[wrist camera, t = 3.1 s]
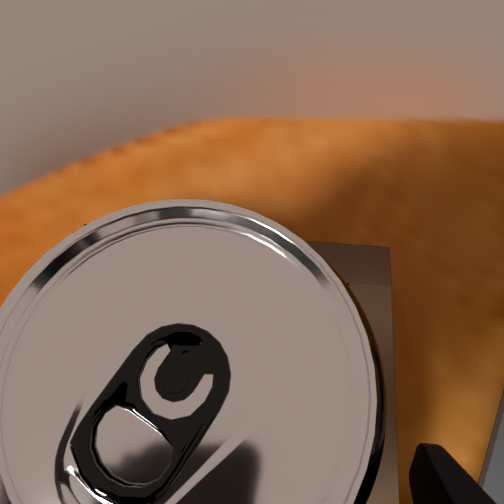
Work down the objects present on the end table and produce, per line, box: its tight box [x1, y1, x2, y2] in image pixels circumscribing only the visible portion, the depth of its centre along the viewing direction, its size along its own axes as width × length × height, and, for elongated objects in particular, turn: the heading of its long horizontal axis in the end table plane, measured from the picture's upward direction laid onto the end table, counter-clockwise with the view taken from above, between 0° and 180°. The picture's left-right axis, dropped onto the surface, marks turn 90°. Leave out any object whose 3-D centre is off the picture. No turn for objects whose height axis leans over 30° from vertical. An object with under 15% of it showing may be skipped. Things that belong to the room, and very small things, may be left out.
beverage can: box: [0, 199, 387, 504], centre depth 11 cm, size 7×7×12 cm
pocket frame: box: [84, 224, 399, 504], centre depth 15 cm, size 12×12×4 cm
